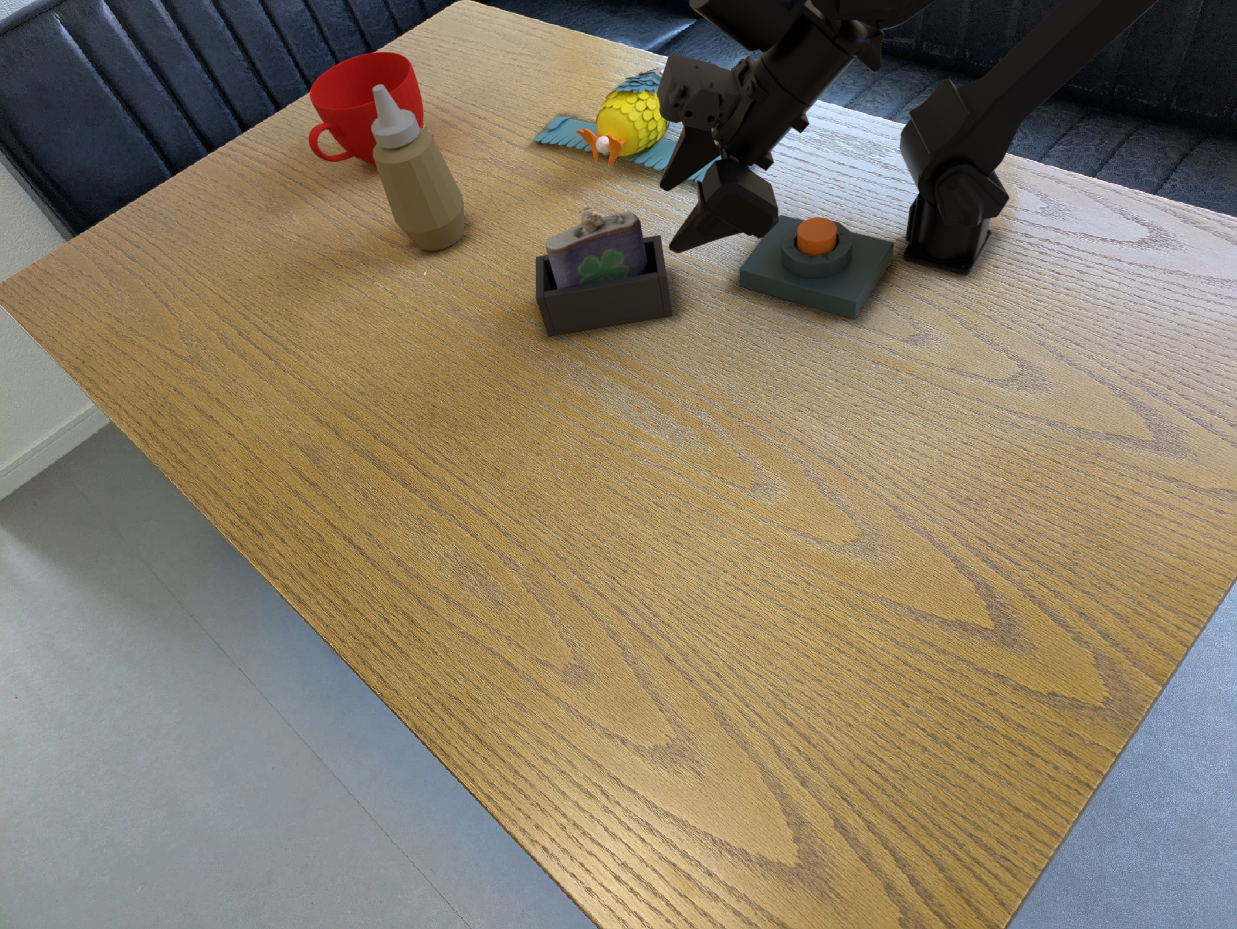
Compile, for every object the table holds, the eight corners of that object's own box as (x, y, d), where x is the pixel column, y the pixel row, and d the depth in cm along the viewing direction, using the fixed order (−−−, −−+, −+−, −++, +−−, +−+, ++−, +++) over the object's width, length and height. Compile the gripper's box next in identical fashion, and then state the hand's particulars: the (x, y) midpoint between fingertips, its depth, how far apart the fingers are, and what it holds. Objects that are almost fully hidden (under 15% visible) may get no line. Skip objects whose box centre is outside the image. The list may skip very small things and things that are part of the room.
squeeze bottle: (394, 254, 94) (323, 108, 80) (428, 210, 98) (366, 63, 84) (453, 262, 91) (391, 113, 77) (485, 217, 95) (432, 67, 81)
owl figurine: (496, 92, 94) (574, 30, 101) (515, 159, 101) (586, 97, 107) (702, 141, 82) (776, 67, 88) (708, 214, 88) (776, 140, 95)
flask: (568, 323, 81) (542, 236, 73) (561, 305, 83) (535, 218, 75) (655, 295, 82) (640, 205, 73) (647, 277, 83) (631, 187, 75)
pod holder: (666, 274, 84) (660, 234, 80) (672, 315, 80) (666, 275, 76) (547, 294, 85) (535, 256, 81) (548, 336, 82) (535, 298, 77)
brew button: (842, 236, 78) (843, 221, 76) (826, 260, 76) (826, 245, 75) (807, 228, 79) (807, 213, 78) (790, 251, 78) (790, 236, 76)
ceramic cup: (304, 189, 105) (264, 118, 97) (388, 117, 113) (357, 45, 105) (375, 210, 100) (340, 136, 92) (459, 133, 107) (432, 58, 99)
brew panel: (892, 259, 80) (896, 226, 77) (854, 319, 76) (857, 287, 73) (780, 231, 85) (780, 199, 82) (739, 286, 81) (737, 254, 78)
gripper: (696, -33, 67) (590, 118, 77) (728, 86, 56) (600, 244, 65) (792, 44, 72) (682, 175, 82) (840, 165, 61) (705, 300, 71)
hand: (667, 218), depth 75 cm, fingers open, 9 cm apart
